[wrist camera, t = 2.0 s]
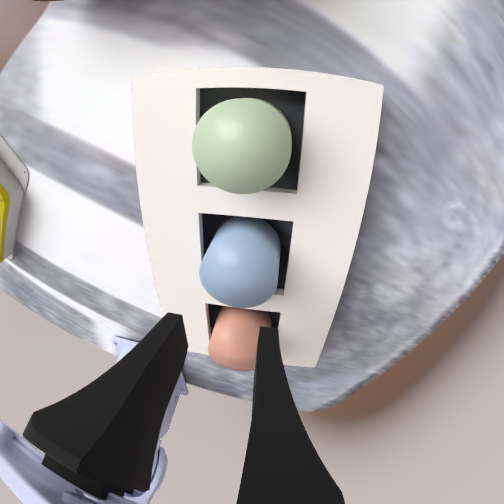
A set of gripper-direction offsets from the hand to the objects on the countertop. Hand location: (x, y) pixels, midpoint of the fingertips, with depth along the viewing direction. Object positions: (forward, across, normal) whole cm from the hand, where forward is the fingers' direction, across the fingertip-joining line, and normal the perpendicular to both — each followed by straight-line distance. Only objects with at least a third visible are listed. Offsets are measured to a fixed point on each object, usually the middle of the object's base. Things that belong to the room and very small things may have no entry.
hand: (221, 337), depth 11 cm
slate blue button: (+7, 0, 0) cm, 7 cm away
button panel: (+8, 0, 0) cm, 8 cm away
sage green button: (+7, 0, -6) cm, 10 cm away
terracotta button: (+7, 0, +6) cm, 10 cm away
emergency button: (+9, +28, -2) cm, 29 cm away
